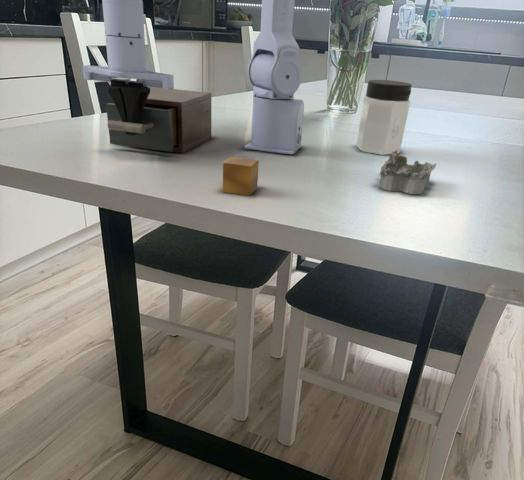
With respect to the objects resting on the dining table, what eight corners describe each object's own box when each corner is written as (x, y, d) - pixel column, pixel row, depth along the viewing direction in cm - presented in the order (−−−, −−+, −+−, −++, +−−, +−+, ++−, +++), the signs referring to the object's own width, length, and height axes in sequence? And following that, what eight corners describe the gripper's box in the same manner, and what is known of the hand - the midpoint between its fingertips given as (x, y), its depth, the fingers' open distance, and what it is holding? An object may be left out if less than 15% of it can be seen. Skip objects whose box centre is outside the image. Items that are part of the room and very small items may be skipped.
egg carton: (389, 174, 82) (394, 148, 80) (433, 182, 80) (440, 156, 77) (372, 188, 74) (377, 160, 72) (420, 197, 71) (428, 169, 69)
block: (257, 188, 71) (258, 159, 68) (249, 196, 67) (250, 166, 65) (231, 184, 71) (232, 156, 69) (222, 192, 68) (222, 162, 66)
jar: (375, 156, 92) (389, 85, 85) (347, 147, 98) (357, 79, 91) (407, 152, 96) (422, 85, 90) (379, 144, 102) (391, 79, 95)
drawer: (158, 157, 78) (156, 115, 74) (95, 149, 80) (90, 107, 76) (199, 137, 93) (199, 100, 89) (145, 130, 95) (142, 94, 91)
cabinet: (183, 153, 85) (181, 102, 81) (118, 144, 87) (113, 94, 83) (211, 138, 97) (211, 92, 92) (154, 130, 99) (151, 86, 95)
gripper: (66, 31, 70) (79, 132, 78) (158, 41, 68) (162, 144, 75) (92, 32, 76) (102, 125, 83) (178, 40, 73) (180, 136, 81)
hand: (132, 134), depth 80 cm, fingers closed, pressing on drawer
